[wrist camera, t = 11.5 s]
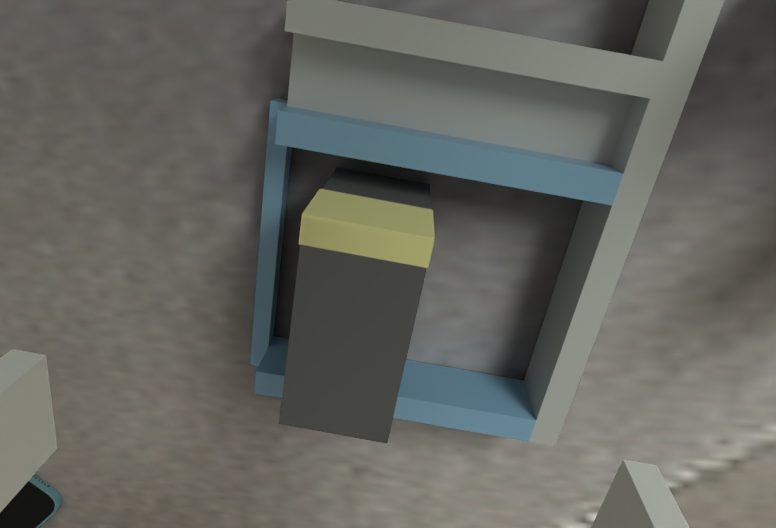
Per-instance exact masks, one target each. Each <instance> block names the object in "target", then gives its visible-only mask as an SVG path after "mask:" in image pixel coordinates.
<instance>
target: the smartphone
mask: <svg viewBox="0 0 776 528" xmlns="http://www.w3.org/2000/svg"><path fill="white" fill-rule="evenodd" d="M61 503H62V498H61V496H60V494H59V493H58V492H57V491H56V490H55V489H54V488H53V487H51V486H50V485H48V484H47V483H45V482H44V481H42V480H41V479H40V478H38V477H37V476H35V475H33V476H32V478H31V479H30V480H29V481H28V482H27V483H26V484H25V485H24V487H23V488H22V489H21V490H20V491H19V492H18V493H17V494H16V496H15V497H14V498H13V499H12V500H11V501H10V502H9V503H8V505H7V506H6V507H5V508H4V509H3V510H2V511H1V512H0V528H40V527H41V526H42V525H43V524H44V523H45V522H46V521H47V520H49V519H50V518H51V517H52V516H53V515H54V514H55V513H56V511H57V510H58V509H59V507H60V506H61Z"/></svg>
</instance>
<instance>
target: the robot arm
mask: <svg viewBox="0 0 776 528" xmlns="http://www.w3.org/2000/svg"><path fill="white" fill-rule="evenodd" d="M56 449H57V441H56V433H55V424H54V416H53V408H52V399H51V391H50V383H49V374H48V366H47V358H46V355H43V354H37V353H31V352H26V351H20V350H15V349H12V350H10V351H9V352H8V353H6V354H5V355H4V356H3V357H1V358H0V512H1V511H2V510H3V509H4V508H5V507H6V506H7V505H8V503H9V502H10V501H11V500H12V499H13V498H14V497H15V496H16V494H17V493H18V492H19V491H20V490H21V489H22V488H23V487H24V485H25V484H26V483H27V482H28V481H29V480H30V479H31V478H32V476H33V475H34V474H35V473H36V472H37V471H38V470H39V468H40V467H41V466H42V465H43V464H44V463H45V462H46V461H47V459H48V458H49V457H50V456H51V455H52V454H53V453H54V452H55V450H56ZM591 528H689V526H688V524H687V522H686V520H685V518H684V516H683V514H682V513H681V511H680V509H679V507H678V505H677V503H676V501H675V499H674V497H673V496H672V494H671V492H670V490H669V488H668V486H667V484H666V482H665V480H664V478H663V477H662V475H661V473H660V471H659V469H658V467H657V465H651V464H646V463H640V462H635V461H629V460H624V459H623V461H622V463H621V465H620V467H619V469H618V472H617V474H616V476H615V478H614V480H613V482H612V484H611V487H610V489H609V491H608V493H607V495H606V497H605V499H604V501H603V504H602V506H601V508H600V510H599V512H598V514H597V516H596V519H595V521H594V523H593V525H592V527H591Z"/></svg>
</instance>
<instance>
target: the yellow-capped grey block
mask: <svg viewBox="0 0 776 528" xmlns="http://www.w3.org/2000/svg"><path fill="white" fill-rule="evenodd" d="M434 240H435V233H434V218H433V210H432V209H431V203H430V185H429V184H424V183H418V182H413V181H408V180H402V179H397V178H392V177H386V176H381V175H376V174H370V173H365V172H360V171H354V170H349V169H344V168H338V167H337V168H336V170H335V171H334V173H333V174H332V176H331V177H330V179H329V180H328V182H327V183H326V184H325V186H324V187H323V189H319V190H318V192H317V193H316V195H315V196H314V197H313V199H312V200H311V202H310V203H309V205H308V206H307V207H306V209H305V210H304V212H303V213H302V219H301V227H300V236H299V244H300V250H299V258H298V267H297V275H296V284H295V292H294V301H293V309H292V318H291V326H290V335H289V343H288V352H287V360H286V369H285V377H284V386H283V394H282V403H281V411H280V420H279V424H283V425H289V426H294V427H300V428H306V429H311V430H317V431H322V432H328V433H333V434H339V435H344V436H350V437H355V438H361V439H366V440H372V441H377V442H383V443H387V442H388V438H389V433H390V429H391V424H392V420H393V415H394V411H395V406H396V402H397V397H398V393H399V389H400V384H401V380H402V375H403V371H404V366H405V362H406V357H407V353H408V348H409V344H410V340H411V335H412V331H413V326H414V322H415V317H416V313H417V308H418V304H419V299H420V295H421V291H422V286H423V282H424V277H425V273H426V268H428V267H429V262H430V258H431V253H432V249H433V245H434Z"/></svg>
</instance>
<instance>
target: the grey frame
mask: <svg viewBox="0 0 776 528" xmlns="http://www.w3.org/2000/svg"><path fill="white" fill-rule="evenodd" d="M724 1H725V0H649V2H648V5H647V8H646V11H645V14H644V17H643V20H642V23H641V26H640V29H639V32H638V35H637V38H636V41H635V45H634V48H633V51H632V54H631V55H627V54H622V53H616V52H611V51H606V50H600V49H595V48H590V47H584V46H579V45H573V44H568V43H563V42H557V41H552V40H547V39H541V38H536V37H530V36H525V35H520V34H514V33H509V32H504V31H498V30H493V29H487V28H482V27H477V26H471V25H466V24H461V23H455V22H450V21H444V20H439V19H434V18H428V17H423V16H418V15H412V14H407V13H401V12H396V11H391V10H385V9H380V8H375V7H369V6H364V5H358V4H353V3H348V2H342V1H337V0H287V7H286V19H285V31H287V32H292V33H294V35H293V46H292V57H291V68H290V79H289V91H288V100H285V99H280V98H275V99H273V100H270V112H269V125H268V138H267V151H266V164H265V176H264V189H263V202H262V215H261V228H260V241H259V253H258V266H257V279H256V292H255V305H254V318H253V331H252V343H251V356H250V365H253V366H258V368H257V370H256V377H255V389H254V394H260V395H266V396H271V397H277V398H282V394H283V386H284V377H285V369H286V360H287V352H288V343H289V339H288V338H282V337H276V336H274V327H275V317H276V306H277V296H278V286H279V275H280V265H281V255H282V244H283V234H284V224H285V213H286V203H287V193H288V182H289V172H290V162H291V151H292V147H294V148H299V149H305V150H310V151H316V152H321V153H327V154H332V155H338V156H343V157H349V158H354V159H360V160H365V161H371V162H376V163H382V164H387V165H393V166H398V167H404V168H409V169H415V170H420V171H426V172H431V173H437V174H442V175H448V176H453V177H459V178H464V179H469V180H475V181H480V182H486V183H491V184H497V185H502V186H508V187H513V188H519V189H524V190H530V191H535V192H541V193H546V194H552V195H557V196H563V197H568V198H574V199H579V200H583V202H582V206H581V209H580V212H579V215H578V218H577V221H576V224H575V227H574V230H573V233H572V236H571V239H570V242H569V245H568V248H567V251H566V254H565V257H564V260H563V263H562V266H561V269H560V272H559V275H558V278H557V281H556V285H555V288H554V291H553V294H552V297H551V300H550V303H549V306H548V309H547V312H546V315H545V318H544V321H543V324H542V327H541V330H540V333H539V336H538V339H537V342H536V345H535V348H534V351H533V354H532V357H531V360H530V363H529V367H528V370H527V373H526V376H525V379H524V380H519V379H513V378H507V377H502V376H496V375H491V374H485V373H479V372H474V371H468V370H462V369H457V368H451V367H445V366H440V365H434V364H429V363H423V362H417V361H412V360H406V362H405V366H404V371H403V375H402V380H401V384H400V389H399V393H398V397H397V402H396V406H395V411H394V415H393V418H396V419H402V420H408V421H414V422H419V423H425V424H431V425H436V426H442V427H448V428H453V429H459V430H465V431H470V432H476V433H482V434H487V435H493V436H499V437H504V438H510V439H516V440H522V441H527V442H533V443H539V444H544V445H550V446H555V445H556V442H557V440H558V437H559V434H560V432H561V429H562V426H563V424H564V421H565V419H566V416H567V413H568V411H569V408H570V405H571V403H572V400H573V398H574V395H575V392H576V390H577V387H578V384H579V382H580V379H581V376H582V374H583V371H584V369H585V366H586V363H587V361H588V358H589V355H590V353H591V350H592V348H593V345H594V342H595V340H596V337H597V334H598V332H599V329H600V327H601V324H602V321H603V319H604V316H605V313H606V311H607V308H608V306H609V303H610V300H611V298H612V295H613V292H614V290H615V287H616V284H617V282H618V279H619V277H620V274H621V271H622V269H623V266H624V263H625V261H626V258H627V256H628V253H629V250H630V248H631V245H632V242H633V240H634V237H635V235H636V232H637V229H638V227H639V224H640V221H641V219H642V216H643V214H644V211H645V208H646V206H647V203H648V200H649V198H650V195H651V192H652V190H653V187H654V185H655V182H656V179H657V177H658V174H659V171H660V169H661V166H662V164H663V161H664V158H665V156H666V153H667V150H668V148H669V145H670V143H671V140H672V137H673V135H674V132H675V129H676V127H677V124H678V122H679V119H680V116H681V114H682V111H683V108H684V106H685V103H686V100H687V98H688V95H689V93H690V90H691V87H692V85H693V82H694V79H695V77H696V74H697V72H698V69H699V66H700V64H701V61H702V58H703V56H704V53H705V51H706V48H707V45H708V43H709V40H710V37H711V35H712V32H713V30H714V27H715V24H716V22H717V19H718V16H719V14H720V11H721V8H722V6H723V3H724Z"/></svg>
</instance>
